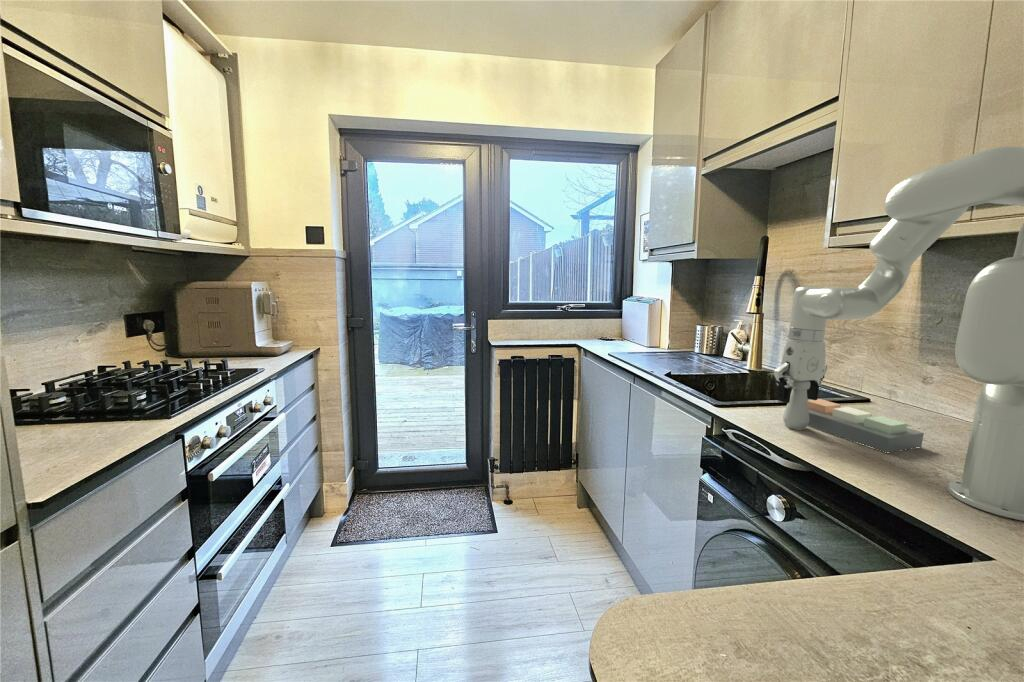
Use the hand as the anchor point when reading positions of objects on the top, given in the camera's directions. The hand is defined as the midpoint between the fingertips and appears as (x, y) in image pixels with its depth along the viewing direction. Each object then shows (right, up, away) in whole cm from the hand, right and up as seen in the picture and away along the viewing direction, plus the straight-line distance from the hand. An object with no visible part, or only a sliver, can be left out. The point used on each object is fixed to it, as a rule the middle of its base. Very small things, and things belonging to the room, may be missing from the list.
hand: (796, 400), depth 111 cm
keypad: (+12, -8, -2) cm, 15 cm away
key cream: (+12, -6, -2) cm, 14 cm away
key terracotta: (+10, -5, +5) cm, 12 cm away
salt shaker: (0, -7, +1) cm, 7 cm away
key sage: (+14, -7, -9) cm, 19 cm away
